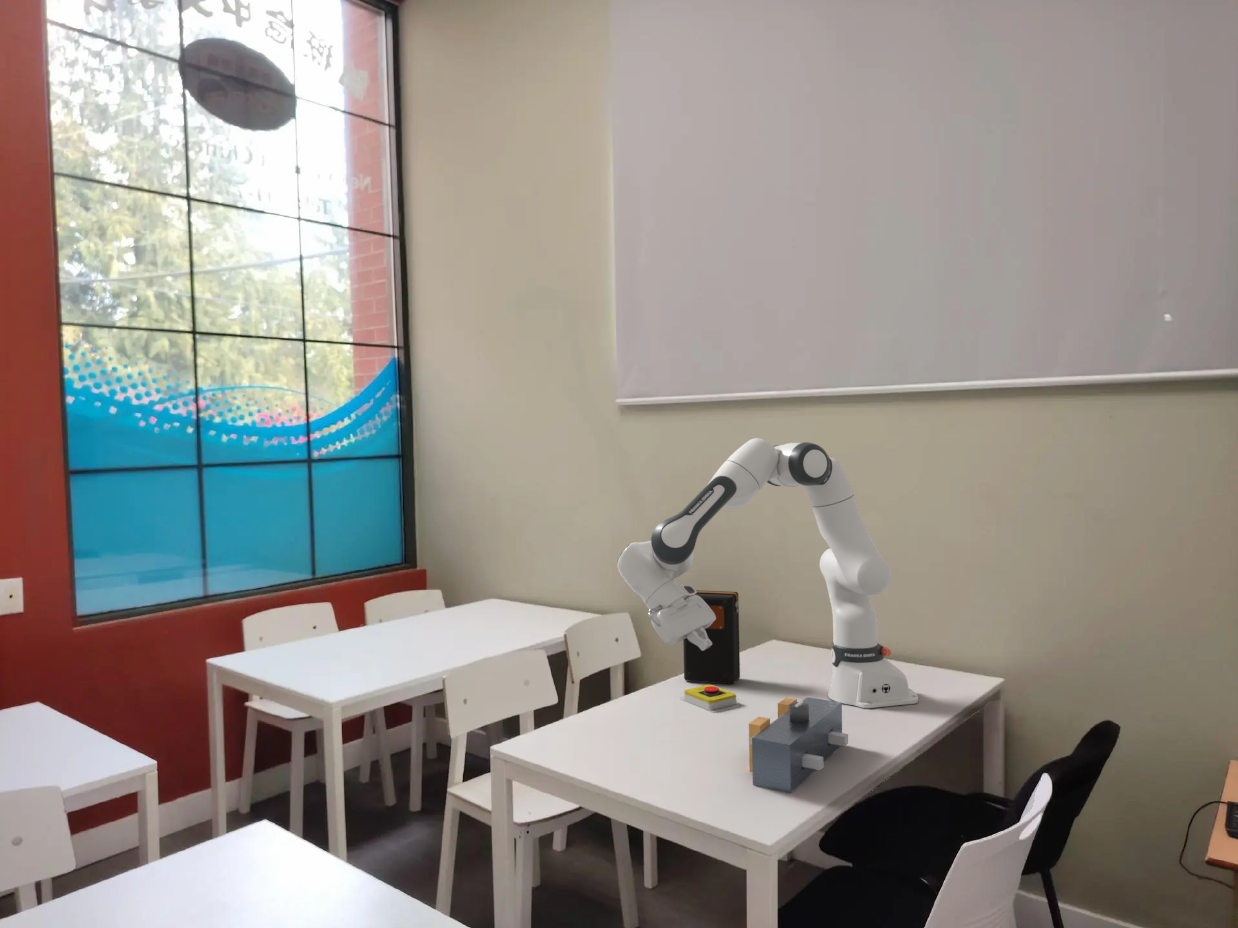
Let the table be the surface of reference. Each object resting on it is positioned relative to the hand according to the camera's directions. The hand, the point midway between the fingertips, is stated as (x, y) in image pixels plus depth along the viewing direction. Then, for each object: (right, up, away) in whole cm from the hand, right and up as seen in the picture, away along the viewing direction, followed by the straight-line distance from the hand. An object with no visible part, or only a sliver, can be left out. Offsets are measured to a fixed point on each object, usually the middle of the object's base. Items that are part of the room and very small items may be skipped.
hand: (707, 647), depth 199 cm
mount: (+18, -21, -14) cm, 31 cm away
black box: (+6, -20, +49) cm, 53 cm away
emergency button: (+3, -21, +29) cm, 36 cm away
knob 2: (+22, -21, -8) cm, 31 cm away
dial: (+18, -12, -14) cm, 26 cm away
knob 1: (+14, -22, -21) cm, 33 cm away
